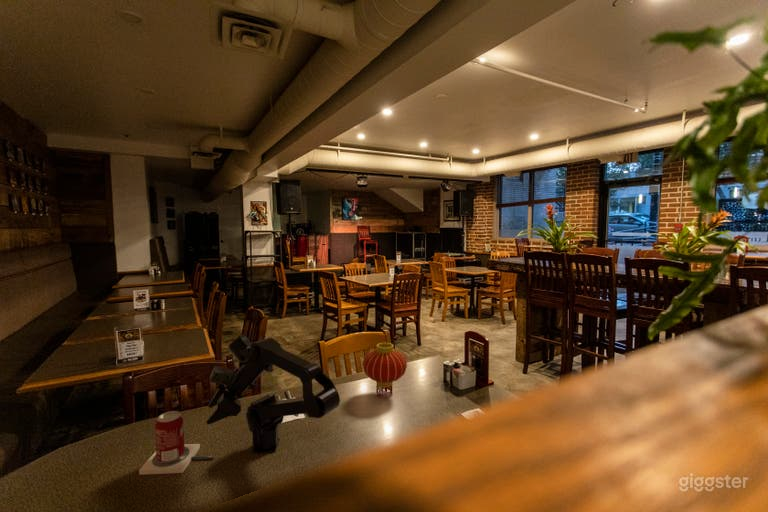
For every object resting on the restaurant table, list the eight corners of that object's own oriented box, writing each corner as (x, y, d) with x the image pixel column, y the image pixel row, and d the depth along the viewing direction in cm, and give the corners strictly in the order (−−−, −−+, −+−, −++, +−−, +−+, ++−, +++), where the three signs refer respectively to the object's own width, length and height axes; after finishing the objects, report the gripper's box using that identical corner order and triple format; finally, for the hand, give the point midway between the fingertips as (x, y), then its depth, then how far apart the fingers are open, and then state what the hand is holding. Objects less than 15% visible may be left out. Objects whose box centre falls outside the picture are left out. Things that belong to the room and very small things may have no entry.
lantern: (407, 406, 134) (409, 326, 132) (360, 405, 134) (361, 326, 132) (405, 385, 151) (406, 315, 148) (363, 384, 151) (364, 314, 149)
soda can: (179, 463, 98) (178, 421, 97) (152, 466, 97) (150, 423, 96) (188, 448, 105) (186, 408, 104) (162, 451, 104) (160, 410, 103)
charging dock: (220, 446, 108) (220, 442, 108) (205, 471, 97) (205, 466, 97) (161, 448, 107) (161, 444, 107) (139, 474, 96) (139, 469, 96)
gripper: (227, 346, 114) (189, 384, 111) (227, 370, 97) (181, 417, 94) (254, 366, 118) (217, 404, 115) (258, 393, 101) (215, 439, 98)
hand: (208, 414), depth 105 cm, fingers open, 9 cm apart
